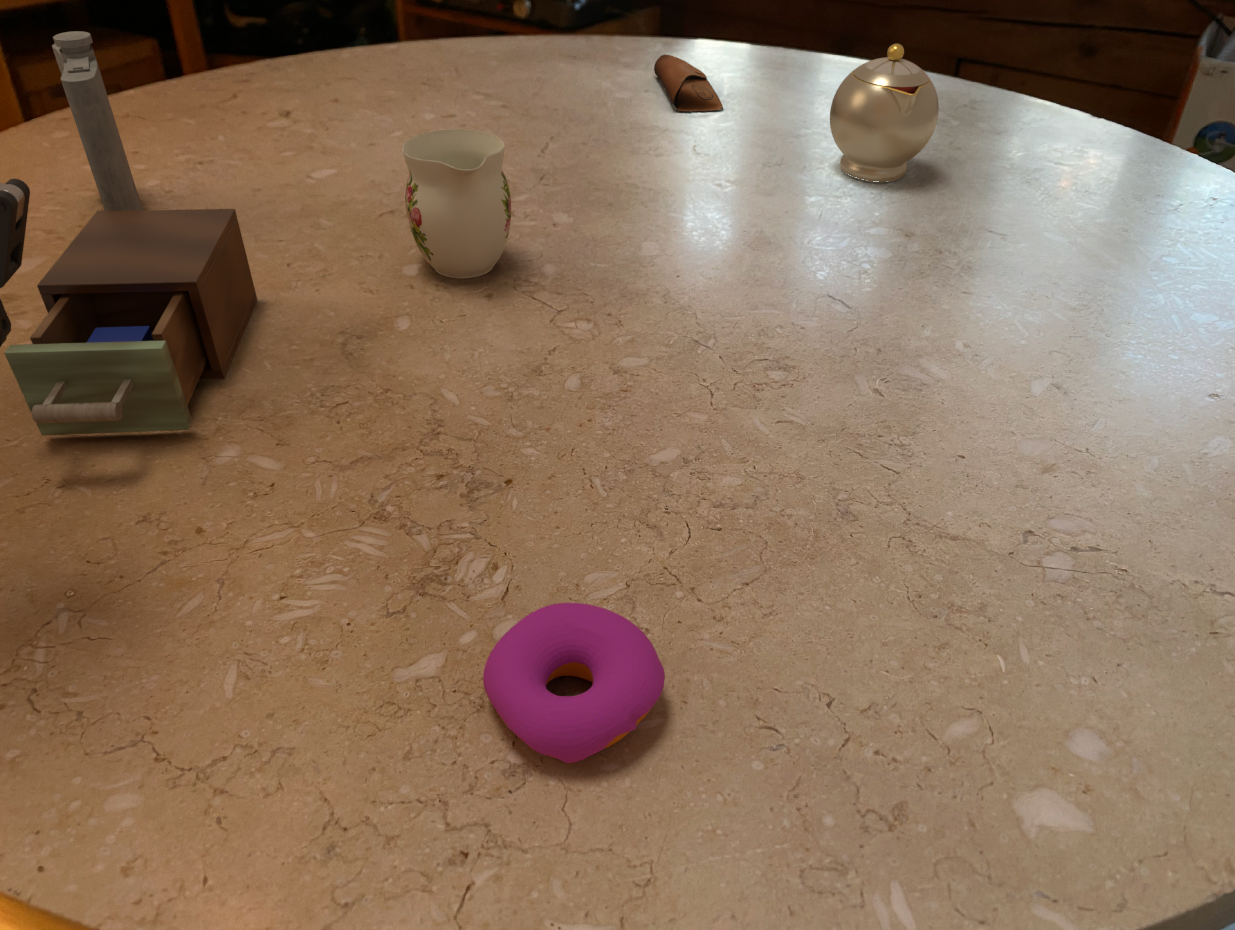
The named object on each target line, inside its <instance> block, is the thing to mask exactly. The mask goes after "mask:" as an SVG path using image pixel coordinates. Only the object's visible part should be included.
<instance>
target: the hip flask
mask: <svg viewBox="0 0 1235 930" xmlns="http://www.w3.org/2000/svg"><path fill="white" fill-rule="evenodd" d="M52 39H53V42H54V43H53V44H52V45H51V47H52V50H53V51H52V52H53V53H54V57H55V60H56V63H57V66H58V69H59V72H60V75H61V76H60V81H61V85H62V87H63V90H64V93H65V96H66V99H67V102H68V105H69V108H70V111H71V114H72V117H73V121H74V124H75V126H76V129H77V132H78V135H79V138H80V141H81V144H82V147H83V150H84V153H85V156H86V159H87V162H88V165H89V169H90V171H91V173H92V176H93V179H94V182H95V185H96V188H97V191H98V194H99V197H100V200H101V203H102V206H103V208H104V211H135V210H144V209H143V206H142V202H141V199H140V196H139V193H138V190H137V187H136V184H135V183H136V182H135V180H134V177H133V174H132V170H131V166H130V164H129V161H128V157H127V154H126V152H125V148H124V144H123V141H122V138H121V135H120V132H119V127H118V126H117V122H116V119H115V116H114V112H113V109H112V106H111V102H110V100H109V95H108V93H107V90H106V87H105V83H104V80H103V77H102V73H101V70H100V67H99V64H98V61H97V57H96V55H95V51H94V48H93V46H92V45H91V44H93V43H94V41H93V38H92V35H91V33H90V32H87V31H81V30H80V31H79V30H77V31H76V30H75V31H66V32H61V33H58V34H55V35H54V36H52Z"/></svg>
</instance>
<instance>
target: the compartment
mask: <svg viewBox="0 0 1235 930" xmlns="http://www.w3.org/2000/svg"><path fill="white" fill-rule="evenodd" d="M131 326H150V328H151V331H152V337H153V340H154V341H130V342H94V343H86V342H87V341H88V339H89V338H90V336H91V335H92V333H93V331H94V330H95V328H101V327H131ZM29 339H30V341H31V343H29V344H28V343H27V344H26V343H25V344H10V345H9V346H8V347H7V348H6V349H5V351H4V356H5V358H6V360H7V362H8V364H9V367H10V369H11V371H12V373H13V376H14V378H15V380H16V383H17V384H18V386H19V389H20V391H21V393H22V395H23V397H24V400H25V403H26V404H27V407H28V409H29V411H30V413H31V417H32V421H33V423H35V424H36V426H37V428H38V430H39V433H40V435H41V436H58V435H62V436H63V435H88V434H89V435H90V434H113V433H115V434H117V433H140V432H141V433H145V432H168V431H169V432H170V431H189V430H190V428H191V426H192V423H193V420H192V416H191V414H190V411H189V408H188V404H189V402H190V400H191V398H192V396H193V394H194V391H195V389H196V387H197V385H198V383H199V381H200V380H199V378H200V376H201V374H202V371H203V369H204V367H205V365H206V363H207V360H208V356H207V353H206V350H205V346H204V343H203V340H202V336H201V333H200V329H199V326H198V323H197V319H196V316H195V313H194V309H193V306H192V302H191V299H190V296H189V292H188V291H173V292H131V293H89V294H62V296H61V297H60V298H59V300H58V301H57V302H56V304H55V305H54V306H53V308H52V309H51V310H50V312H49V313H48V312H47V314H46V316H45V317H44V318H43V319H42V321H41V322H40V324H38V326H37V327H36V329H35V330H34V331H33V333H32V334H31V336H30V337H29Z"/></svg>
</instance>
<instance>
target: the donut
mask: <svg viewBox="0 0 1235 930" xmlns="http://www.w3.org/2000/svg"><path fill="white" fill-rule="evenodd" d="M482 675H483V676H482V681H483V688H484V690H485V694H486V695H487V698H488V699H489V701H490V704H491V705H492V706H493V708H494V709H495V711H496V713H497V714H498V716H499V717H500V719H501V720H502V721H503V722H504V724H505V725H506V727H507V728H508V730H509V731H512V732H513V733H514V734H515V735H516V736H517V737H518V738H519V740H521V741H522V742H523V743H525V744H526V746H528V747H529V748H530V749H532V750H533V751H535V752H537V753H538V754H540V755H544V756H547V757H550V758H555V759H557V760H559V761H562V762H564V763H566V764H570V763H571V764H573V763H577V762H580V761H583V760H585V759H586V758H588V757H590V756H593V755H595V754H598V753H599V752H601V751H603V750H605V749H607V748H609V747H610V746H613V745H614V744H616V743H617V742H619V741H620V740H622V739H623V738H624V737H626V736H627V735H629V733H630V732H633V731H634V730H636V729H638V728H637V726H638V725H639V724H640V722H641V721H643V719H644V718H646V716H647V715H648V714H649V712H650V711H651V709H652V708H653V707H654V705H655V704H656V703H657V701H658V700H659V699H660V698H661V695H662V692H663V690H664V687H665V679H666V674H665V669H664V666H663V664H662V662H661V660H660V658H659V655H658V653H657V651H656V649H655V647H654V645H653V642H651V640H650V639H649V638H648V636H647V635H646V634H645V632H643V631H642V630H641V629H640V628H639V627H638V626H637V625H636V624H635V623H634V622H632V621H631V620H629V619H627V618H626V617H624V616H623V615H621V614H619V613H617V612H614V611H612V610H610V609H607V608H604V607H601V606H597V605H594V604H588V603H581V602H560V603H552V604H549V605H545V606H543V607H539V608H538V609H536V610H534V611H532V612H530V613H528V615H526V616H525V617H523V618H522V619H520V620H519V621H518V622H516V624H514V625H512V627H510V628H509V629H508V630H507V631H506V632H505V633H504V634H503V635H502V636H501V637H500V639H499V640H498V641H497V642H496V644H495V645H494V647H493V648H492V650H491V651H490V653H489V655H488V657H487V659H486V662H485V664H484V669H483V674H482ZM565 676H566V677H567V676H568V677H575V678H580V679H583V680H586V681H588V682H590V683H592V685H591V687H589V689H587V690H586V691H584V692H582V693H580V694H576V695H573V696H572V695H571V696H568V695H567V696H566V695H557V694H554V693H553V692H551V691H549V690H548V689H547V685H548V684H549V683H550V681H552V680H554V679H556V678H559V677H565Z"/></svg>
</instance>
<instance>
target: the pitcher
mask: <svg viewBox="0 0 1235 930" xmlns="http://www.w3.org/2000/svg"><path fill="white" fill-rule="evenodd" d="M505 150H506V144H505V142H504V140H503V139H502V138H500V136H497V135H495V134H493V133H490V132H487V131H484V130H479V129H471V128H444V129H436V130H431V131H426V132H422V133H419V134H417V135H414V136H411V137H410V138H409V139H407V140H406V141H405V142H404V143H403V145H402V147H401V151H402V155H403V158H404V160H405V164H406V167H407V170H408V176H407V181H406V186H405V195H404V197H405V199H404V200H405V209H406V216H407V221H408V224H409V229H410V232H411V234H412V237H413V240H414V241H415V244H416V245H417V248H418V249H419V251H420V253H421V255H422V256H423V258H424V259H425V261H426V262H427V263H428V264H429V265H430V266H431V267H432V268H433V269H434V271H435V272H436V273H438V274H439V275H442V276H444V277H447V278H451V279H471V278H477V277H480V276H483V275H485V274H487V273H489V272H491V271H492V270H493V268H494V267H495V265H496V264H497V262H498V261H499V260H500V258H501V256H502V254H503V252H504V250H505V247H506V245H507V242H508V239H509V238H508V237H509V234H510V229H511V228H510V227H511V222H512V197H511V192H510V187H509V184H508V180H507V177H506V175H505V172H504V170H503V166H504V165H503V164H504V156H505Z"/></svg>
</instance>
